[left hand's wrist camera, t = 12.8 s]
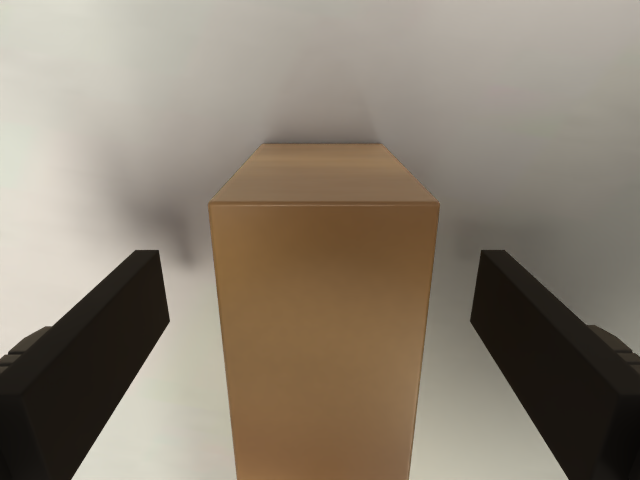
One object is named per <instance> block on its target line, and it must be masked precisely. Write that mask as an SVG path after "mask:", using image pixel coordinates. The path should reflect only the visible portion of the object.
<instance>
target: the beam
mask: <svg viewBox="0 0 640 480" xmlns="http://www.w3.org/2000/svg"><path fill="white" fill-rule="evenodd" d="M439 209H440V203H439V201H438V200H437V199H436V198H435V197H434V196H433V195H432V194H431V193H430V192H429V191H428V190H427V189H426V188H425V187H424V186H423V185H422V184H421V183H420V182H419V181H418V180H417V179H416V178H415V177H414V176H413V175H412V174H411V173H410V172H409V171H408V170H407V169H406V168H405V167H404V166H403V165H402V164H401V163H400V162H399V161H398V160H397V159H396V158H395V157H394V156H393V154H392V153H391V152H390V151H389V150H388V149H387V148H386V147H385V146H384V145H383V144H261V146H260V147H259V148H258V149H257V150H256V151H255V152H254V153H253V154H252V155H251V156H250V158H249V159H248V160H247V161H246V162H245V163H244V164H243V165H242V166H241V167H240V169H239V170H238V171H237V172H236V173H235V174H234V175H233V176H232V177H231V178H230V179H229V181H228V182H227V183H226V184H225V185H224V186H223V187H222V188H221V189H220V190H219V191H218V193H217V194H216V195H215V196H214V197H213V198H212V199H211V200H210V201H209V203H208V211H209V221H210V230H211V239H212V249H213V258H214V268H215V277H216V286H217V296H218V305H219V315H220V324H221V333H222V343H223V352H224V362H225V371H226V380H227V390H228V399H229V409H230V418H231V427H232V437H233V446H234V456H235V465H236V474H237V480H409V473H410V464H411V456H412V447H413V438H414V429H415V420H416V412H417V403H418V394H419V385H420V376H421V368H422V359H423V350H424V341H425V332H426V324H427V315H428V306H429V297H430V288H431V280H432V271H433V262H434V253H435V244H436V236H437V227H438V218H439Z"/></svg>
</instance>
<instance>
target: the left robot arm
mask: <svg viewBox="0 0 640 480" xmlns="http://www.w3.org/2000/svg"><path fill="white" fill-rule="evenodd" d="M169 322H170V318H169V312H168V306H167V300H166V293H165V287H164V281H163V274H162V268H161V262H160V256H159V250H135V251H134V252H133V253H132V254H131V255H130V256H129V257H127V258H126V259H125V260H124V261H123V262H122V263H121V264H120V265H119V266H118V267H117V268H115V269H114V270H113V271H112V272H111V273H110V274H109V275H108V276H107V277H106V278H105V279H103V280H102V281H101V282H100V283H99V284H98V285H97V286H96V287H95V288H94V289H93V290H91V291H90V292H89V293H88V294H87V295H86V296H85V297H84V298H83V299H82V300H81V301H79V302H78V303H77V304H76V305H75V306H74V307H73V308H72V309H71V310H70V311H69V312H67V313H66V314H65V315H64V316H63V317H62V318H61V319H60V320H59V321H58V322H57V323H55V324H54V325H53V326H45V327H44V328H42V329H40V330H38V331H36V332H34V333H33V334H31V335H29V336H27V337H25V338H24V339H23V340H21V341H20V342H19V343H18V344H17V345H16V346H15V347H13V348H12V349H11V350H10V351H9V352H8V355H4V356H3V357H2V358H1V359H0V480H71V479H72V477H73V476H74V474H75V473H76V471H77V469H78V468H79V466H80V465H81V463H82V461H83V460H84V458H85V457H86V455H87V453H88V452H89V450H90V449H91V447H92V445H93V444H94V442H95V441H96V439H97V437H98V436H99V434H100V433H101V431H102V429H103V428H104V426H105V425H106V423H107V421H108V420H109V418H110V417H111V415H112V413H113V412H114V410H115V408H116V407H117V405H118V404H119V402H120V400H121V399H122V397H123V396H124V394H125V392H126V391H127V389H128V388H129V386H130V384H131V383H132V381H133V380H134V378H135V376H136V375H137V373H138V372H139V370H140V368H141V367H142V365H143V364H144V362H145V360H146V359H147V357H148V356H149V354H150V352H151V351H152V349H153V348H154V346H155V344H156V343H157V341H158V340H159V338H160V336H161V335H162V333H163V332H164V330H165V328H166V327H167V325H168V324H169ZM470 322H471V324H472V325H473V327H474V328H475V330H476V332H477V333H478V335H479V336H480V338H481V340H482V341H483V343H484V344H485V346H486V348H487V349H488V351H489V352H490V354H491V356H492V357H493V359H494V360H495V362H496V364H497V365H498V367H499V368H500V370H501V372H502V373H503V375H504V376H505V378H506V380H507V381H508V383H509V384H510V386H511V388H512V389H513V391H514V392H515V394H516V396H517V397H518V399H519V401H520V402H521V404H522V405H523V407H524V409H525V410H526V412H527V413H528V415H529V417H530V418H531V420H532V421H533V423H534V425H535V426H536V428H537V429H538V431H539V433H540V434H541V436H542V437H543V439H544V441H545V442H546V444H547V445H548V447H549V449H550V450H551V452H552V453H553V455H554V457H555V458H556V460H557V461H558V463H559V465H560V466H561V468H562V469H563V471H564V473H565V474H566V476H567V477H568V479H569V480H640V357H639V356H638V355H637V354H636V353H632V350H631V349H630V348H629V347H628V346H626V345H625V344H624V343H623V342H622V341H621V340H619V339H618V338H617V337H616V336H614V335H612V334H610V333H608V332H607V331H605V330H603V329H601V328H599V327H597V326H596V325H586V324H585V323H583V322H582V321H581V320H580V319H579V318H578V317H577V316H576V315H575V314H574V313H573V312H571V311H570V310H569V309H568V308H567V307H566V306H565V305H564V304H563V303H562V302H561V301H559V300H558V299H557V298H556V297H555V296H554V295H553V294H552V293H551V292H550V291H549V290H547V289H546V288H545V287H544V286H543V285H542V284H541V283H540V282H539V281H538V280H537V279H535V278H534V277H533V276H532V275H531V274H530V273H529V272H528V271H527V270H526V269H525V268H523V267H522V266H521V265H520V264H519V263H518V262H517V261H516V260H515V259H514V258H513V257H511V256H510V255H509V254H508V253H507V252H506V251H505V250H481V256H480V262H479V268H478V274H477V281H476V287H475V293H474V299H473V306H472V312H471V318H470Z"/></svg>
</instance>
